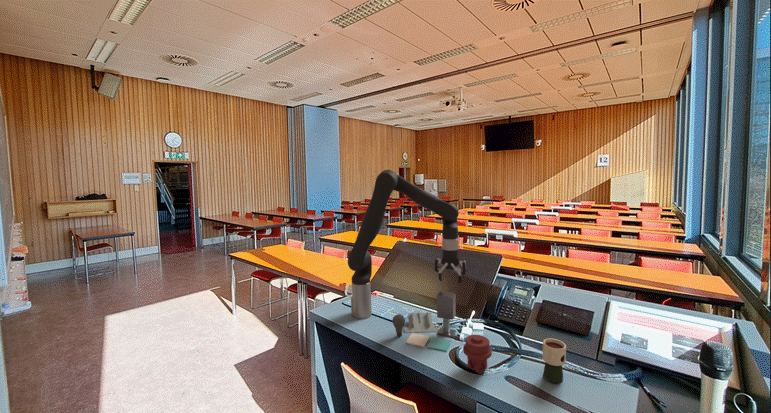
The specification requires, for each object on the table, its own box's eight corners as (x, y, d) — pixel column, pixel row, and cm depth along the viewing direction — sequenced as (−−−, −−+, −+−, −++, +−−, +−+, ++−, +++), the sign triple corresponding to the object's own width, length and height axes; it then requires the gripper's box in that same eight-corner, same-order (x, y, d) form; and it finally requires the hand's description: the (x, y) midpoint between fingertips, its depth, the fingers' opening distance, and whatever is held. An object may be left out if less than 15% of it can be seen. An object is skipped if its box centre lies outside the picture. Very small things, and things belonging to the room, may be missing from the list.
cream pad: (405, 343, 142) (405, 342, 142) (412, 334, 149) (412, 332, 149) (423, 346, 139) (423, 345, 139) (429, 337, 146) (429, 336, 146)
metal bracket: (403, 309, 162) (434, 308, 161) (403, 318, 164) (434, 317, 164) (404, 331, 148) (439, 330, 148) (405, 341, 151) (438, 340, 151)
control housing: (437, 334, 148) (436, 295, 145) (440, 328, 153) (440, 290, 150) (453, 337, 145) (453, 297, 143) (455, 331, 150) (455, 293, 148)
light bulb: (391, 339, 145) (390, 317, 144) (394, 332, 151) (393, 311, 149) (404, 340, 144) (403, 318, 142) (406, 334, 149) (406, 312, 148)
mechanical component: (457, 369, 123) (472, 357, 130) (482, 381, 116) (496, 368, 123) (457, 338, 122) (472, 327, 128) (482, 348, 114) (497, 337, 121)
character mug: (563, 391, 110) (565, 354, 108) (539, 384, 114) (541, 348, 112) (565, 373, 119) (567, 338, 118) (543, 367, 123) (544, 333, 121)
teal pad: (427, 347, 138) (427, 346, 138) (432, 338, 145) (432, 336, 145) (446, 351, 135) (446, 350, 135) (451, 341, 142) (451, 340, 142)
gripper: (432, 248, 152) (433, 282, 155) (464, 251, 147) (464, 286, 149) (437, 244, 159) (437, 277, 162) (467, 246, 153) (467, 280, 156)
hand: (450, 281), depth 155 cm, fingers open, 8 cm apart
